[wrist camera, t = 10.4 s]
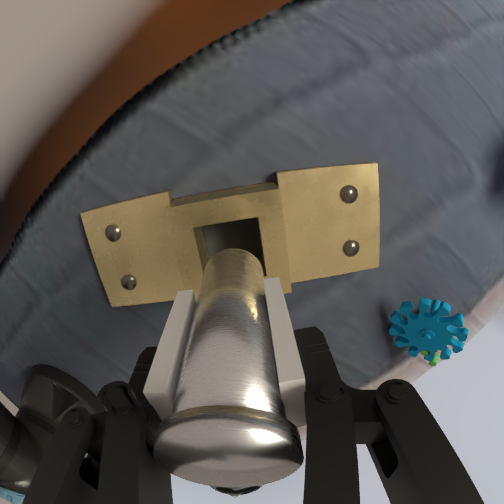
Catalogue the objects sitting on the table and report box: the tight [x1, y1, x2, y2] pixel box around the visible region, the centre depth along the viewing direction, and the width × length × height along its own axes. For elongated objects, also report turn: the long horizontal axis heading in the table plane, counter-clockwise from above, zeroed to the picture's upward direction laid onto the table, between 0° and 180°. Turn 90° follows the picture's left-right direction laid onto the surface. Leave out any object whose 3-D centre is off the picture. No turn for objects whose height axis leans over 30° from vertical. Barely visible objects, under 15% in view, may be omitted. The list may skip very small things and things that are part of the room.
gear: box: [389, 297, 468, 366], centre depth 27 cm, size 11×6×10 cm
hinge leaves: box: [80, 162, 380, 307], centre depth 23 cm, size 27×10×4 cm, turn 99°
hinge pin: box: [153, 248, 304, 487], centre depth 12 cm, size 4×4×12 cm
